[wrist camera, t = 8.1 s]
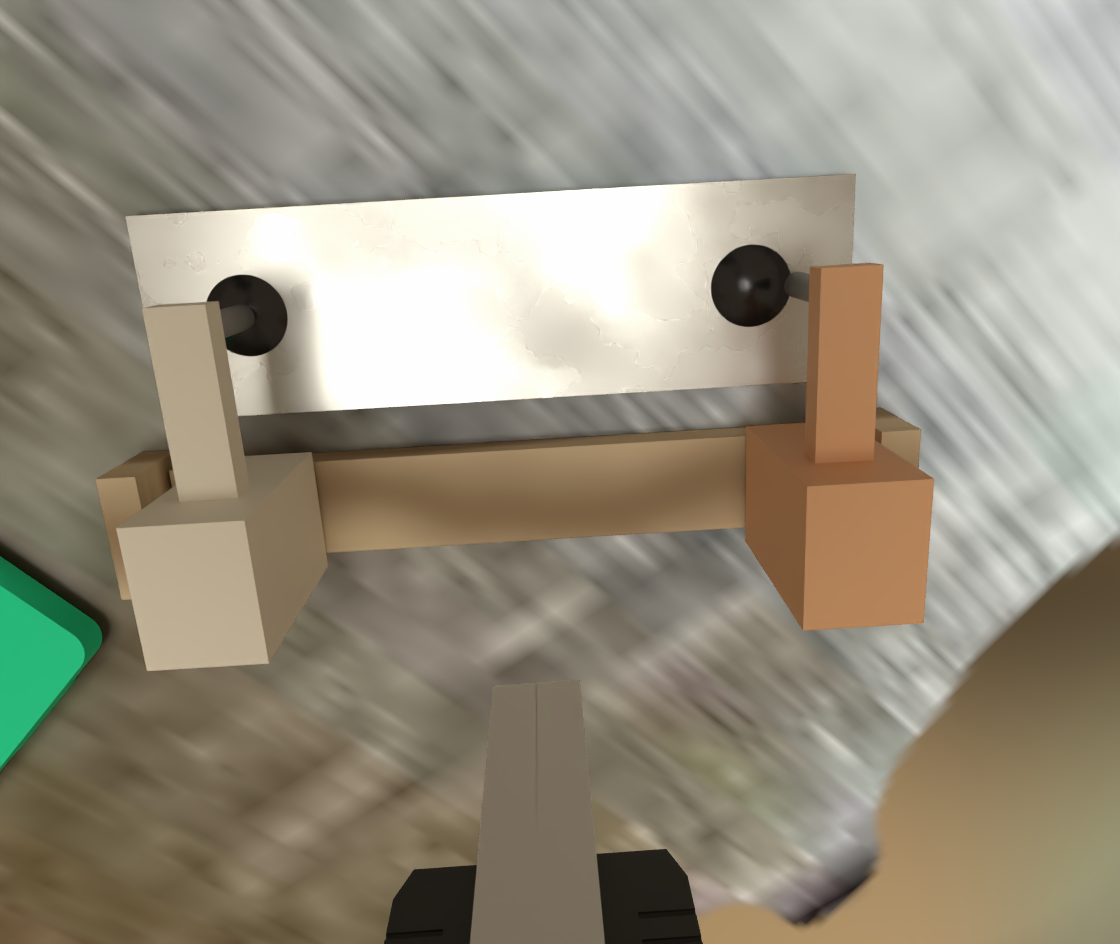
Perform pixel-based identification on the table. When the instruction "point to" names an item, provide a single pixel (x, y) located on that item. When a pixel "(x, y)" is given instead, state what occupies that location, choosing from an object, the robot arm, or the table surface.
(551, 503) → the rail
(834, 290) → the slider leg
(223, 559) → the fixed leg
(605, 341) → the hole plate
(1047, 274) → the table surface
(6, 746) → the camera mount
